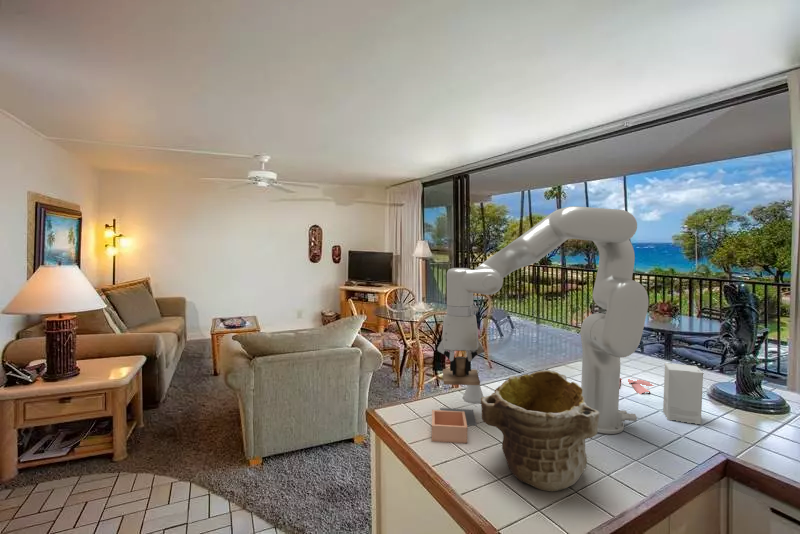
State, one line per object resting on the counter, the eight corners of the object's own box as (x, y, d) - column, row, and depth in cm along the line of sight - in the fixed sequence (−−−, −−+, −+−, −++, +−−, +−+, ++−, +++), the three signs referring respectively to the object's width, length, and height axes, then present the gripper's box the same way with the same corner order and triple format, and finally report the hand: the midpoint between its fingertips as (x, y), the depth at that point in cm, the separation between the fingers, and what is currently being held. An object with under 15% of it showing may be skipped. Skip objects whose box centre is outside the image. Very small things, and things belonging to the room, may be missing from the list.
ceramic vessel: (518, 490, 64) (488, 353, 79) (482, 499, 84) (464, 388, 98) (639, 481, 67) (589, 349, 81) (577, 492, 86) (545, 384, 101)
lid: (475, 372, 113) (475, 353, 112) (480, 385, 103) (479, 363, 102) (442, 372, 113) (442, 352, 113) (443, 384, 103) (443, 363, 103)
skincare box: (695, 416, 111) (698, 365, 110) (702, 426, 105) (705, 372, 104) (661, 411, 115) (664, 361, 114) (666, 420, 109) (669, 368, 108)
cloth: (658, 384, 138) (659, 378, 138) (661, 406, 120) (662, 398, 120) (596, 373, 149) (597, 367, 149) (591, 391, 131) (591, 385, 131)
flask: (485, 406, 117) (485, 375, 116) (461, 404, 118) (462, 373, 118) (484, 396, 124) (485, 367, 123) (462, 395, 125) (463, 366, 125)
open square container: (464, 427, 103) (464, 411, 103) (467, 444, 94) (467, 427, 94) (431, 425, 104) (432, 409, 104) (431, 442, 95) (431, 425, 95)
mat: (473, 410, 113) (473, 409, 113) (476, 427, 103) (476, 425, 103) (440, 409, 114) (440, 408, 114) (440, 425, 104) (440, 423, 104)
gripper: (487, 308, 110) (487, 369, 111) (431, 308, 111) (432, 368, 112) (491, 313, 102) (491, 378, 103) (431, 313, 104) (432, 377, 105)
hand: (460, 372), depth 108 cm, fingers closed on lid, 3 cm apart
